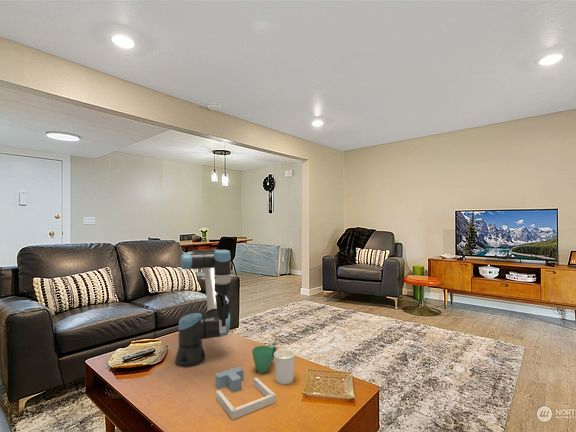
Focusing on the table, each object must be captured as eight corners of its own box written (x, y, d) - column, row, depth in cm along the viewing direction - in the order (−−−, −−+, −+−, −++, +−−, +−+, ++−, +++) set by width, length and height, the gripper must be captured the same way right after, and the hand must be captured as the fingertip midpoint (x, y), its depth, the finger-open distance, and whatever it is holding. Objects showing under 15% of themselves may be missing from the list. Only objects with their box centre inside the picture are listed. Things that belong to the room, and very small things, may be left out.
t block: (215, 385, 137) (215, 373, 137) (239, 377, 144) (239, 366, 144) (224, 395, 129) (224, 383, 129) (249, 386, 135) (249, 375, 135)
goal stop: (216, 398, 127) (216, 391, 127) (256, 384, 137) (256, 377, 137) (232, 420, 113) (232, 411, 113) (275, 402, 124) (275, 394, 124)
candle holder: (298, 376, 144) (298, 351, 144) (289, 387, 135) (289, 360, 135) (279, 372, 148) (279, 347, 148) (270, 382, 139) (270, 356, 139)
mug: (263, 377, 143) (263, 356, 143) (248, 371, 148) (248, 351, 148) (282, 365, 155) (282, 345, 155) (267, 360, 160) (267, 341, 160)
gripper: (209, 281, 148) (210, 329, 148) (220, 286, 138) (220, 338, 138) (224, 279, 153) (224, 326, 153) (235, 284, 142) (235, 335, 142)
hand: (222, 332), depth 145 cm, fingers closed
